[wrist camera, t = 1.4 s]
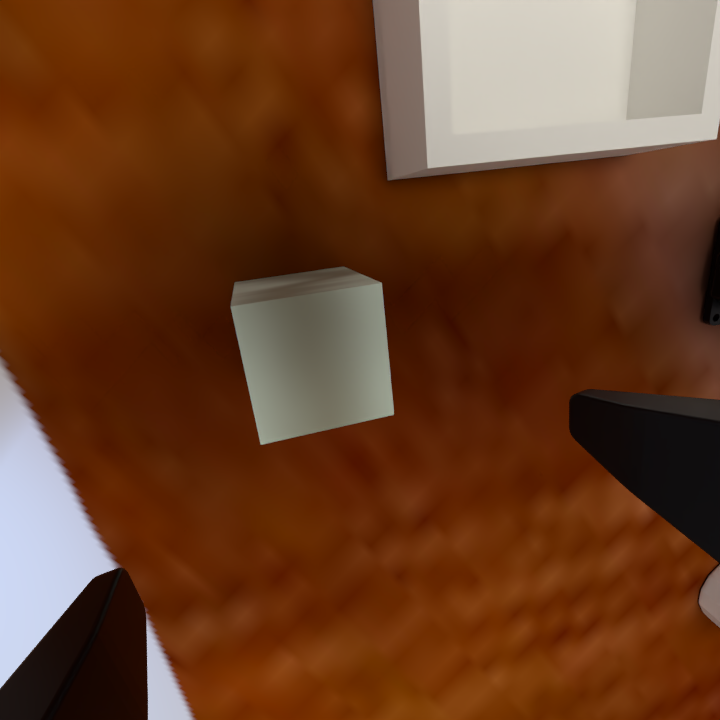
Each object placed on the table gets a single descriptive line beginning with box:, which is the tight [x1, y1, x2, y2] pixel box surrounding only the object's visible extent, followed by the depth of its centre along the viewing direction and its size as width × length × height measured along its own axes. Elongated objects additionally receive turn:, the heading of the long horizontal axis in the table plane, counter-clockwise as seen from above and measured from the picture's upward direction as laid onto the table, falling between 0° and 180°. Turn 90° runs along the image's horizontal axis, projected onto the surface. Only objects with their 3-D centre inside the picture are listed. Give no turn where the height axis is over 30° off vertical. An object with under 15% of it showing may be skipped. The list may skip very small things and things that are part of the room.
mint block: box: [231, 266, 394, 445], centre depth 17 cm, size 5×5×6 cm
